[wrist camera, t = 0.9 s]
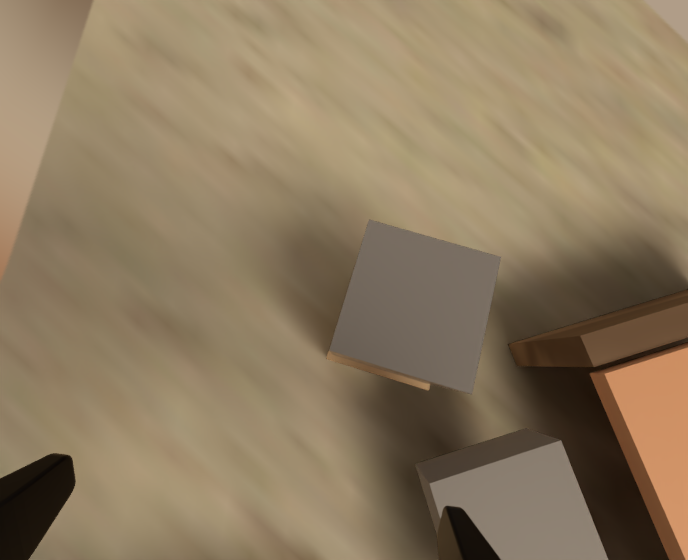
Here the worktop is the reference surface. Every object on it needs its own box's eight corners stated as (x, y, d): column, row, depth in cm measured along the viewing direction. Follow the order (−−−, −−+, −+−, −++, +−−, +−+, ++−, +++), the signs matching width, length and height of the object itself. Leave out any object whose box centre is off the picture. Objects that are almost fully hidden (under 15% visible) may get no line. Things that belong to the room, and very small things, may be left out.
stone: (446, 293, 20) (500, 256, 13) (424, 383, 19) (471, 394, 12) (359, 267, 20) (368, 219, 13) (333, 355, 19) (329, 350, 12)
